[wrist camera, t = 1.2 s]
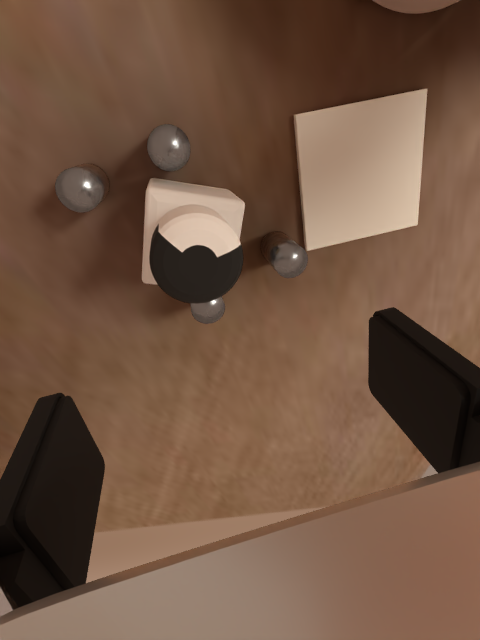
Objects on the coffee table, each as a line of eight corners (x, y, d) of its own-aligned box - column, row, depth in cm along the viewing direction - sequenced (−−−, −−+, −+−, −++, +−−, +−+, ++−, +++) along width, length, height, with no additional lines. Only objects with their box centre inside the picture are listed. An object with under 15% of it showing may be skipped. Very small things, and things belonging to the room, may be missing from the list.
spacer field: (275, 104, 30) (294, 98, 25) (293, 279, 37) (311, 298, 33) (57, 147, 28) (38, 148, 24) (123, 320, 36) (118, 346, 31)
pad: (422, 89, 31) (427, 88, 31) (413, 223, 37) (417, 224, 36) (293, 114, 30) (295, 114, 30) (304, 249, 36) (307, 251, 35)
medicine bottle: (219, 264, 35) (243, 318, 25) (145, 257, 33) (136, 312, 23) (230, 189, 32) (263, 214, 21) (149, 176, 30) (141, 197, 20)
